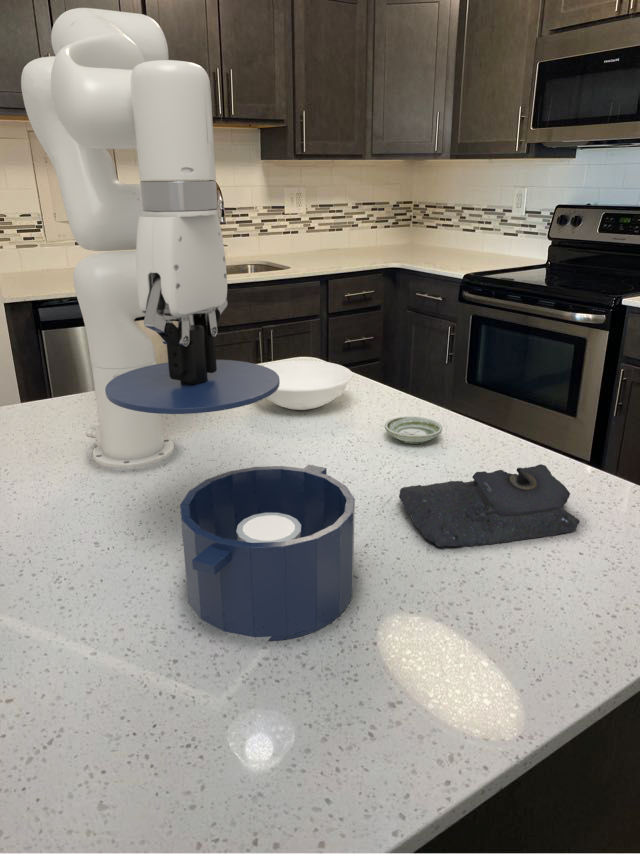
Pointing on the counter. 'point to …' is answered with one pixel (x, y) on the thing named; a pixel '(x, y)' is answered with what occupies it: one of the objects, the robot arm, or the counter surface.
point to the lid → (193, 385)
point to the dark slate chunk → (490, 508)
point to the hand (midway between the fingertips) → (193, 373)
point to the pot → (269, 552)
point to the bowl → (308, 383)
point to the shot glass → (268, 528)
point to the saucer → (413, 429)
